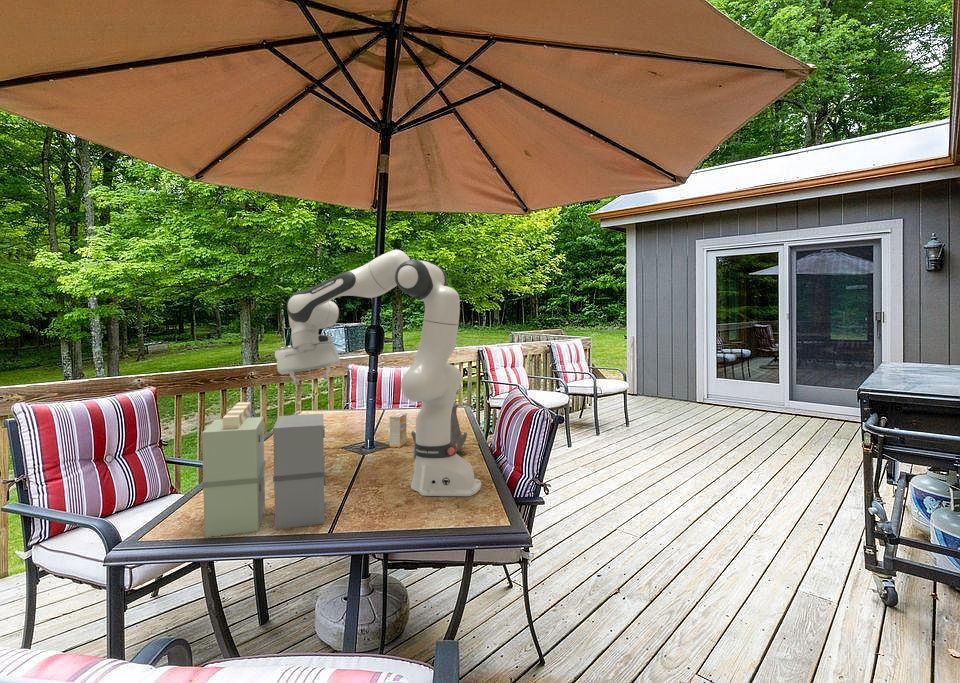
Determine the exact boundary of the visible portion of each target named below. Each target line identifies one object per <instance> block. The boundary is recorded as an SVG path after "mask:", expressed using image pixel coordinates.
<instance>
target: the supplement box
mask: <svg viewBox="0 0 960 683" xmlns="http://www.w3.org/2000/svg"><path fill="white" fill-rule="evenodd" d="M405 444H407V413H404V412H396V413H394V414H392V415H390V416H389V447H390V448H395V447H398V449H399V448H401V447H403V446H404V445H405Z"/></svg>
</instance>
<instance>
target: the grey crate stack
mask: <svg viewBox="0 0 960 683" xmlns="http://www.w3.org/2000/svg"><path fill="white" fill-rule="evenodd" d="M325 427H326V426H325V425H324V413H316V414H315V413H313V414H311V413H309V414H293V415H292V414H291V415H290V414H289V415H279V416H278V417H277V419H276V422H275V423H274V425H273V428H272V429H273V434H272V437H273V439H272V440H273V442H272V443H273V476H272V480H273V484H274V485H273V486H274V490H273V493H274V529H275V530H280V529H282V530H283V529H289V528H298V527H307V526H313V525H314V526H315V525H322V524H325V486H326V471H325V468H326V467H325V466H326V462H325V460H326V459H325V450H324V448H325V444H324V442H325V434H326V432H325Z"/></svg>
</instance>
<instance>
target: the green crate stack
mask: <svg viewBox="0 0 960 683" xmlns="http://www.w3.org/2000/svg"><path fill="white" fill-rule="evenodd" d="M264 422H265V421H264V416H258V417H256V416H255V417H254V416H253V417H247V418H246V419H245V421H244V422H243V423H242V425H241V426H240V427H239V429H223V418H219V419H215V420H214V421H213V422H211V423H210V424H209V425H208V426H207V427H206V428H205V429H204V430H203V431H201V439H202V440H201V445H202V447H201V449H202V452H201V453H202V483H201V488H202V489H203V490H202V491H203V520H204V521H203V523H204V524H203V526H204V527H203V528H204V531H203V532H204V538H211V536H214V537H219V536H220V537H221V535H223V536H229V535H230V536H231V535H237V534H238V535H239V534H246V533H256V532H255V531H257V532H259V530H258V529H260V526H261V522H262V520H263V516H264V514H263V513H265V510H266V479H265V477H266V476H265V474H266V473H265V466H266V460H265V429H264V426H265V425H264Z"/></svg>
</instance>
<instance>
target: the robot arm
mask: <svg viewBox="0 0 960 683" xmlns="http://www.w3.org/2000/svg"><path fill="white" fill-rule="evenodd" d="M447 285H448V276H447V273H446V272H445V270H444V269H443V268H442V267H441V266H439V265H437V264H434V263H431V262H429V261H426V260H417V259H411V258H410V257H409V256H408V254H407V253H405V252H404V251H402V250H401V249H393V250H390V251H387V252H385V253H383V254H380V255H379V256H377V257H375V258H374V259H372V260H370V261H368V262H366V263H365V264H363V265H361V266H359V267H356V268H355V269H352V270H348V271H345V272H342V273H339V274H337V275H335V276H332V277H330V278H328V279H326V280H324V281H322V282H320V283H319V284H316V285H315V286H311V287H310V288H309V289H304V290H303V289H302V290H298V291H296V292H295V293H293V294H292V295H291V296H290V297H289V298H288V300H287V303H286V311H287V314H288V323H289V327H290V329H291V336H290V337H291V344H292V345H287V346H280V347H278V348H277V349H276V350H275V351H274V358H275V360H276V370H277V372H278V374H280V375H287V374H289V376H290V378H291V379H292V380H293V384H294V386H297V385H300V380H299V378H298V377H295V373H300V372H306V371H311V370H317V369H322V368H325V370H326V371H325V373H323V380H324V381H326V380H329V374H330V372H331V367H334V366H335V367H336V366H339V364H340V363H341V360H340V356H339V351H338V349H337V346H336V345H335V344H334V341H333V340H334V339H333V338H332V336H331V335H326V334H319V331H320V330H324V329H327V328H331V327H334V325H336V323H337V322H338V320H339V317H340V308H339V307H338V305H337V303H336V302H334V301H333V300H335V299H336V298H340V297H343V296H344V297H345V296H351V297H352V296H353V297H360V298H361V297H362V298H367V299H372V298H377V297H380V296H382V295H385V294H386V293H388V292H389V291H391V290H392V289H394V288H395V287H397V288H399V290H400V291H402V292H403V293H405V294H407V295H408V296H410V297H412V298H414V299H416V300H418V301H420V300H422V301H423V304H424V314H423V320H422V327H421V328H422V329H421V335H420V341H419V344H418V348H417V352H416V354H415V356H414V359H413V361H412V362H411V365H410V367H409V369H408V370H407V371H406V373H404V374H403V376H402V378H401V382H400V389H401V391H402V393H403V396H404V397H405V398H406V399H407V400H408V401H411V402H414V403H415V402H417V403H423V404H422V407H421V406H420V410H419V412H418V413H417V415H416V418H415V433H416V442H414V446H413V455H414V458H413V459H414V468H413V469H414V470H413V475H412V480H411V483H410V488H411V490H413V491H415V492H417V493H418V494H419V495H420V496H422V497H470V496H473V495H476V494H477V493H478V492H479V491H480V490H481V489H482V481H481V480H480V479H479V478H475V472H474V468H473V466H472V465H471V463H469V462H467V461H466V460H465V459H464V458H463V457H461V456H460V455H459V454H457V452H456V448H457V443H456V444H453V443H452V442H451V441H450V425H451V413H452V408H453V404H454V402H455V399H456V395H457V393H458V391H459V389H460V387H461V385H462V383H463V382H462V381H463V378H462V377H463V376H462V372H461V370H460V369H459V368H458V367H457V366H455V365H453V364H450V363H448V361H449V358H450V357H451V355H452V353H453V352H454V350H455V348H456V345H457V338H458V332H459V326H460V325H459V323H460V312H461V309H460V308H461V306H460V304H461V302H460V301H461V300H460V294H459V293H458V292H457V290H455V289H454V288H452V287H451V286H447Z"/></svg>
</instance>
